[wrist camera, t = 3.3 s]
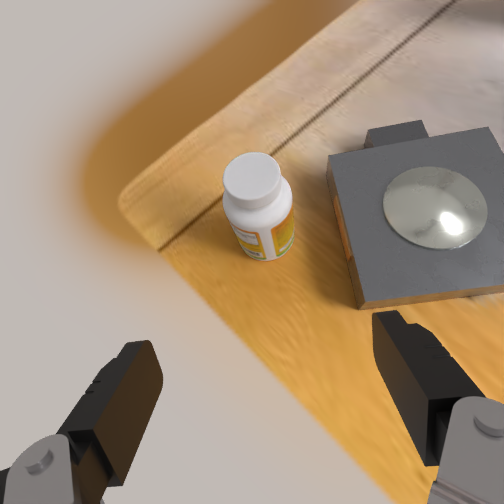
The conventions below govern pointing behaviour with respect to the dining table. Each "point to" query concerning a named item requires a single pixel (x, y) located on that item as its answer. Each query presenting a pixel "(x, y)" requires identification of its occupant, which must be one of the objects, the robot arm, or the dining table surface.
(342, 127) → the dining table surface
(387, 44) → the dining table surface
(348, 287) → the dining table surface
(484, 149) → the grey coaster with tab
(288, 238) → the supplement bottle
